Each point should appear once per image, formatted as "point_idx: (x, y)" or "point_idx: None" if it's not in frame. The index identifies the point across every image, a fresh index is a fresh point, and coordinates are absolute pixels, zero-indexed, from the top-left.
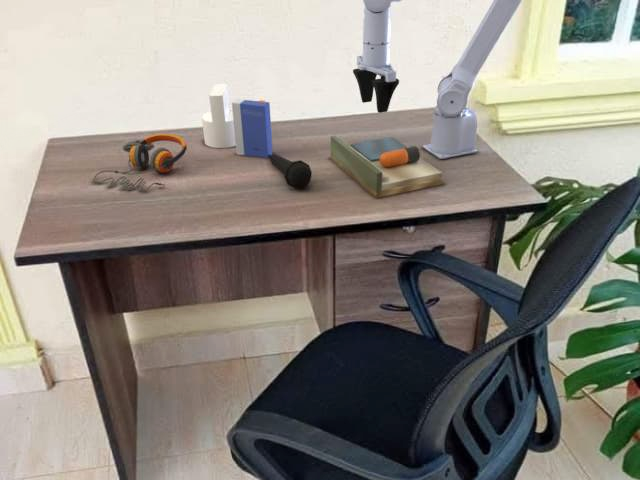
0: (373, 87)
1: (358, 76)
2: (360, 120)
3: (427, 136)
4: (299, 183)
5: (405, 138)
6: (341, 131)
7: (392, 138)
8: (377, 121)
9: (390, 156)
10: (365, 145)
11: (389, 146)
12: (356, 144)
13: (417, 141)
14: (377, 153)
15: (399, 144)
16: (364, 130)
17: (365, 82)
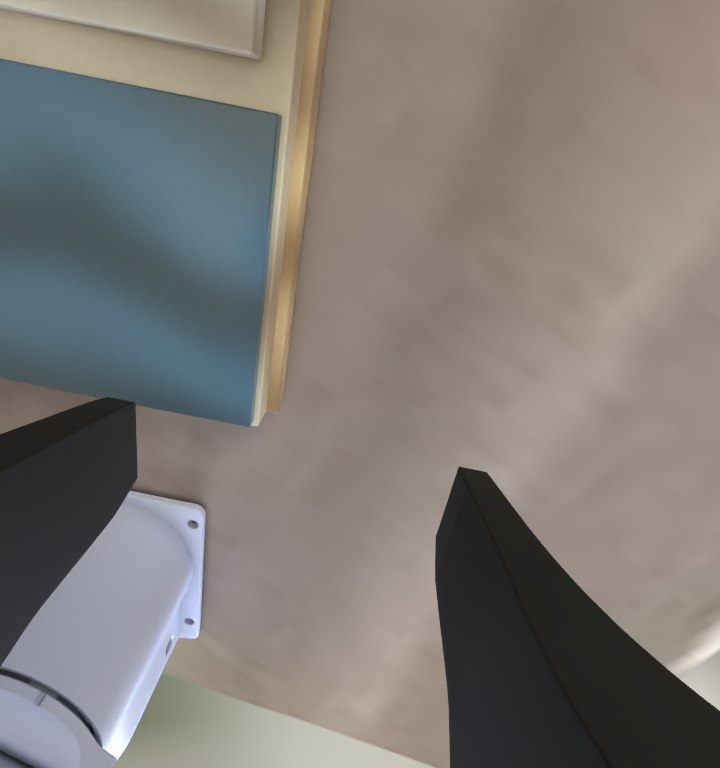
0: (449, 680)
1: (577, 730)
2: (714, 523)
3: (312, 595)
4: None
5: (349, 523)
6: (683, 344)
7: (223, 411)
8: (626, 569)
9: None
10: (197, 194)
11: (115, 317)
12: (247, 148)
13: (287, 535)
14: (28, 170)
15: (119, 382)
16: (582, 451)
17: (492, 684)
